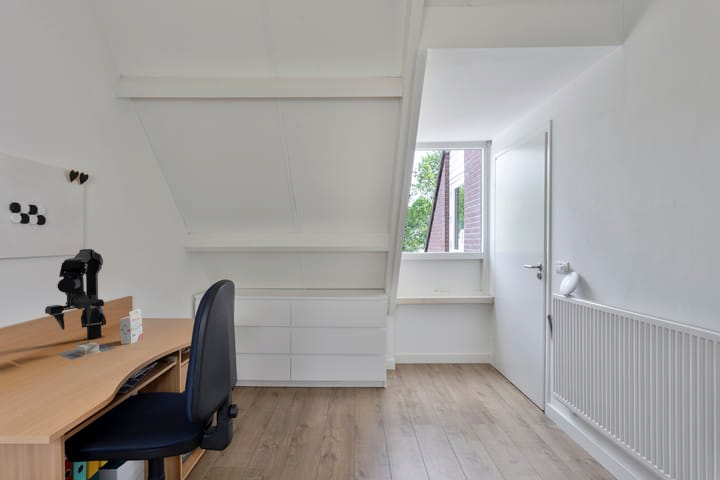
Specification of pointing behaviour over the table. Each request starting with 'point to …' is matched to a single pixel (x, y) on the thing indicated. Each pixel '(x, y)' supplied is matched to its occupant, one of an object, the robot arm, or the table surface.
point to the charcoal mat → (74, 355)
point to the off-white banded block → (87, 348)
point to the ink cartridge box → (131, 327)
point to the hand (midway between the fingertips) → (76, 326)
